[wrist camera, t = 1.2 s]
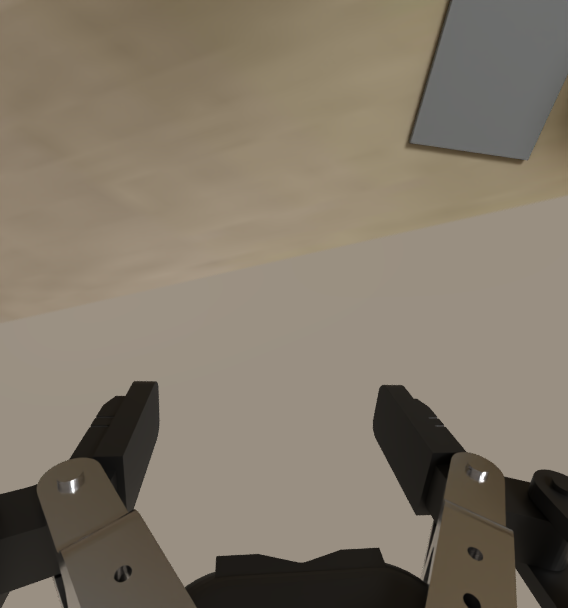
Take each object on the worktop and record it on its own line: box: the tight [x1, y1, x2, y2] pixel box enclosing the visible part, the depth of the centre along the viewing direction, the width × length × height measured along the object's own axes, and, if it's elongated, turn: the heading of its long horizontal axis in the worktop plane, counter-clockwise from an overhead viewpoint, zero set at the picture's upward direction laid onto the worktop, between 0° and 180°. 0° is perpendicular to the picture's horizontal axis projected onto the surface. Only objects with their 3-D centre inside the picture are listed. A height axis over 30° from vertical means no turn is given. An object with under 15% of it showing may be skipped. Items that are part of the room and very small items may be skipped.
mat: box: [409, 0, 568, 160], centre depth 30 cm, size 12×12×1 cm
